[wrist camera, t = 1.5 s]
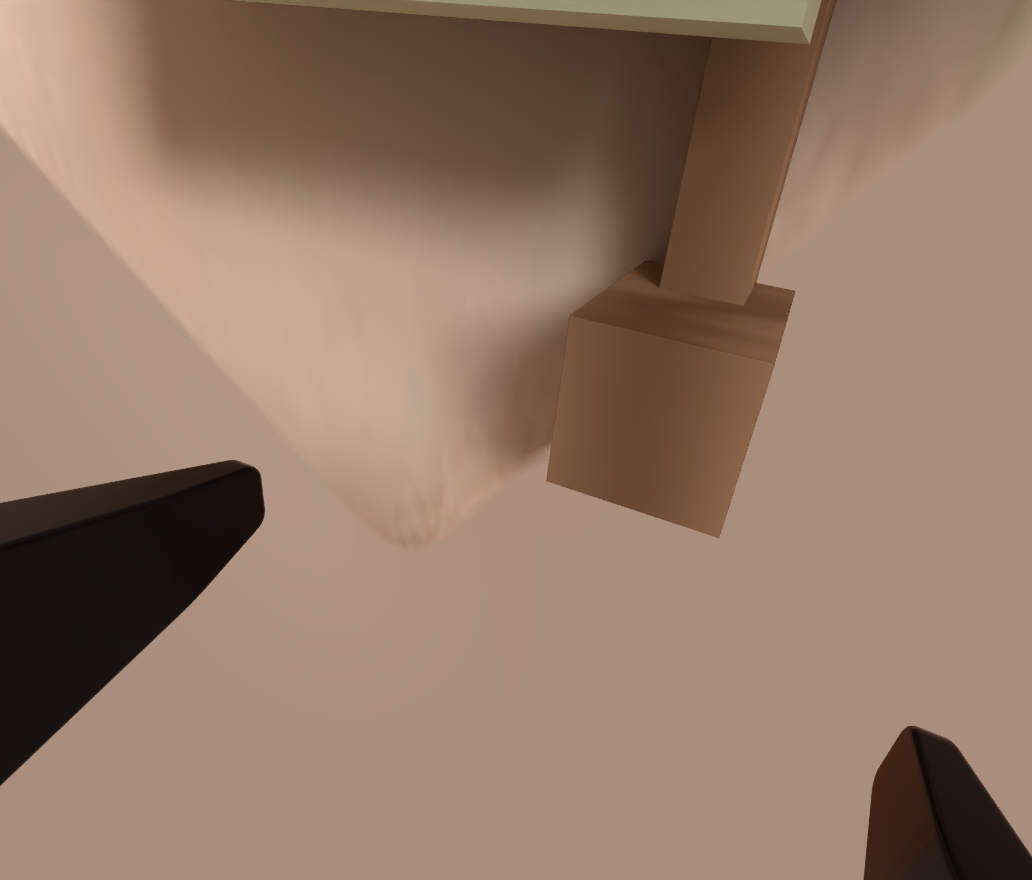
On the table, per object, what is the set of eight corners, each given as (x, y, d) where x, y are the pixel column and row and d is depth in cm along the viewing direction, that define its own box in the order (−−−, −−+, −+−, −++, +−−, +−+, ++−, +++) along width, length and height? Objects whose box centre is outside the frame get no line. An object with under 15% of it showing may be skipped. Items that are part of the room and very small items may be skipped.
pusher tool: (955, -214, 12) (1035, -451, 7) (752, 426, 18) (719, 538, 13) (735, -204, 13) (670, -395, 8) (620, 390, 20) (546, 481, 15)
